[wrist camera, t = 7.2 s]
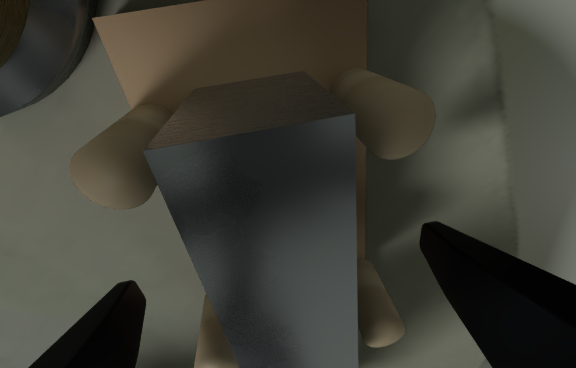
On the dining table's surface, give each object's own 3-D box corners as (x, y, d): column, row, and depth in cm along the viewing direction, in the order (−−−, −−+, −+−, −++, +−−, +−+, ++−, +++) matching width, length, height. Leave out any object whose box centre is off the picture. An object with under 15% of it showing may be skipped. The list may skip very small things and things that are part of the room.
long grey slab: (325, 292, 13) (358, 404, 9) (259, 305, 13) (265, 424, 9) (303, 70, 8) (354, 113, 4) (194, 88, 8) (142, 151, 4)
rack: (364, 289, 15) (399, 371, 12) (224, 317, 15) (217, 410, 11) (365, -22, 8) (460, -58, 5) (98, 21, 8) (-30, 18, 4)
